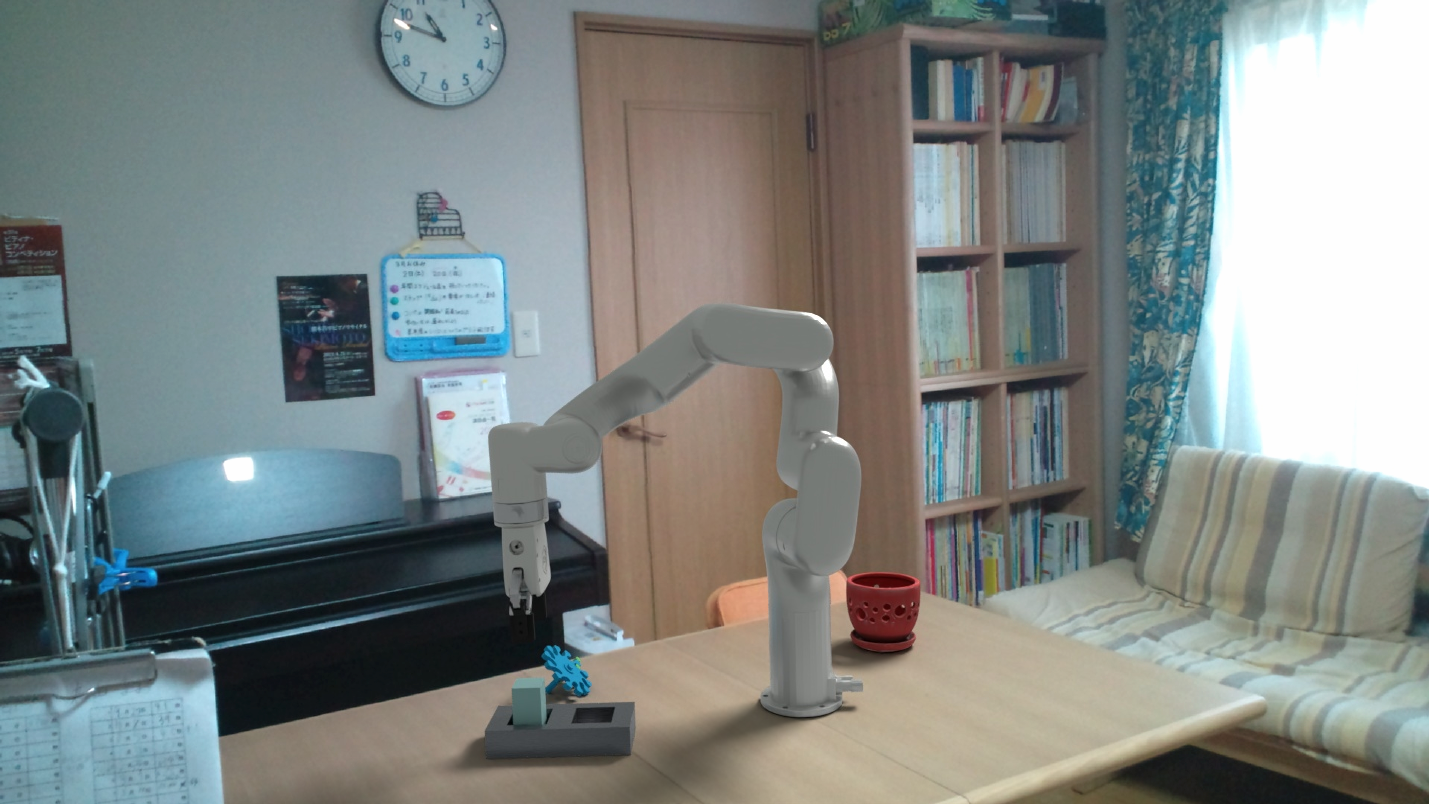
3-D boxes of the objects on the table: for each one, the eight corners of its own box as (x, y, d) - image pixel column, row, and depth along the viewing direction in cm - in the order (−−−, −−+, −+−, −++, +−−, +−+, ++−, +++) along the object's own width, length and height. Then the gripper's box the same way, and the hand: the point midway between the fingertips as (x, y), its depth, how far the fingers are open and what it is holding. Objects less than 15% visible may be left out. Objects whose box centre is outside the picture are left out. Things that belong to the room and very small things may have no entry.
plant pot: (927, 655, 178) (926, 587, 177) (851, 657, 178) (850, 589, 177) (914, 631, 191) (913, 568, 190) (843, 633, 191) (842, 570, 190)
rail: (635, 728, 151) (634, 701, 151) (630, 754, 142) (629, 726, 142) (499, 732, 151) (498, 705, 151) (486, 759, 142) (484, 731, 142)
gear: (581, 696, 160) (538, 648, 161) (555, 722, 160) (513, 674, 162) (604, 680, 170) (564, 636, 172) (580, 705, 171) (540, 660, 173)
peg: (547, 737, 149) (544, 677, 148) (543, 749, 145) (540, 687, 144) (519, 738, 149) (516, 678, 148) (514, 750, 145) (511, 688, 144)
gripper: (537, 523, 135) (546, 650, 137) (557, 498, 152) (565, 610, 154) (480, 526, 135) (490, 653, 137) (506, 500, 152) (515, 613, 154)
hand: (529, 630), depth 145 cm, fingers open, 9 cm apart
